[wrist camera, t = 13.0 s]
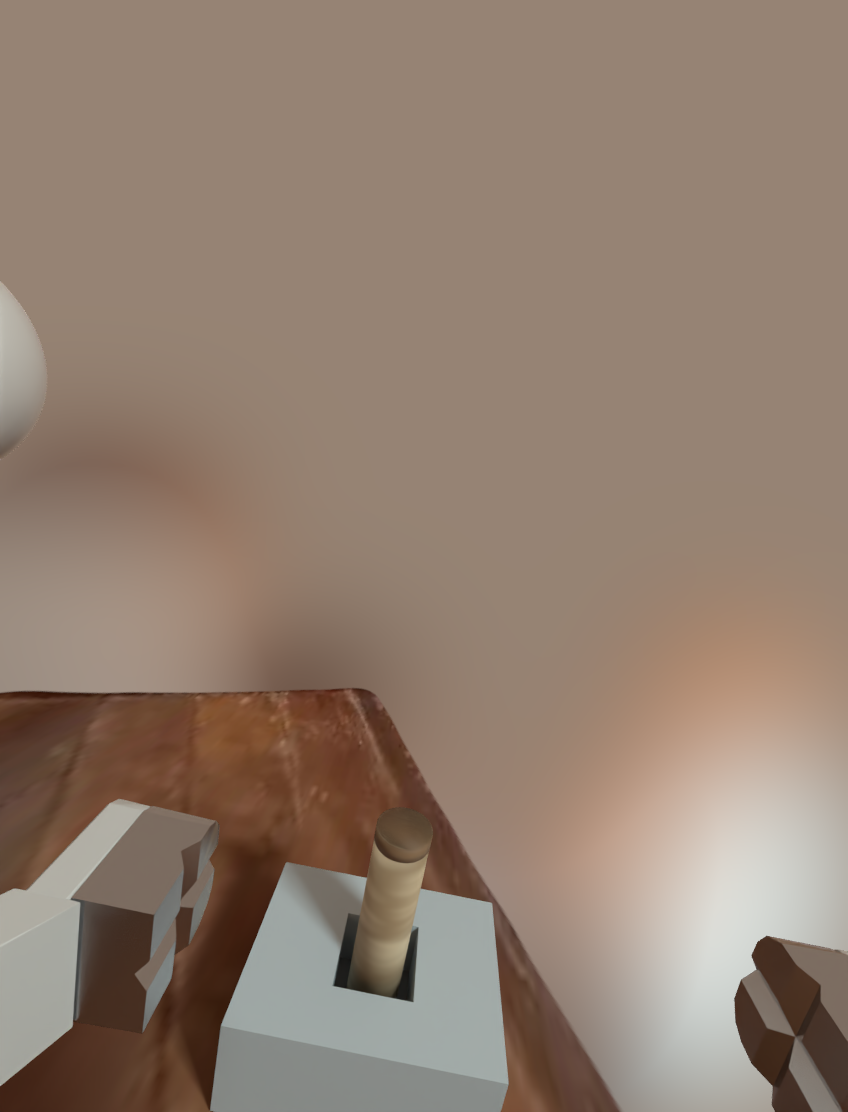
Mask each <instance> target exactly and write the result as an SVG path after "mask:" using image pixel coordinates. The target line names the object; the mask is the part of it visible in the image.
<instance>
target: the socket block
mask: <svg viewBox="0 0 848 1112" xmlns="http://www.w3.org/2000/svg"><path fill="white" fill-rule="evenodd" d="M366 880H367V878H364V877H359V876H354V875H349V874H344V873H339V872H334V871H329V870H323V869H318V868H313V867H308V866H303V865H298V864H293V863H288V862H286V864H285V867H284V869H283V872H282V874H281V877H280V879H279V882H278V884H277V887H276V889H275V892H274V894H273V897H272V899H271V902H270V904H269V907H268V909H267V912H266V914H265V917H264V919H263V922H262V924H261V927H260V929H259V932H258V934H257V937H256V939H255V942H254V944H253V947H252V949H251V952H250V954H249V957H248V959H247V962H246V964H245V967H244V969H243V972H242V974H241V977H240V979H239V982H238V984H237V987H236V989H235V992H234V994H233V997H232V999H231V1002H230V1004H229V1007H228V1009H227V1012H226V1014H225V1017H224V1019H223V1022H222V1024H221V1029H220V1036H219V1044H218V1052H217V1060H216V1068H215V1075H214V1083H213V1091H212V1099H211V1107H210V1111H214V1112H501V1109H502V1105H503V1102H504V1098H505V1095H506V1091H507V1088H508V1073H507V1062H506V1051H505V1040H504V1029H503V1018H502V1007H501V996H500V986H499V975H498V964H497V953H496V942H495V931H494V920H493V909H492V903H489V902H484V901H479V900H474V899H469V898H464V897H459V896H454V895H449V894H444V893H439V892H434V891H429V890H424V889H420V894H419V898H418V903H417V907H416V912H415V917H414V921H413V926H412V930H411V935H410V940H409V944H408V949H407V953H406V958H405V963H404V967H403V972H402V977H401V981H400V986H399V990H398V995H397V999H394V998H389V997H384V996H380V995H375V994H370V993H365V992H360V991H355V990H350V989H346V987H347V981H348V976H349V971H350V965H351V960H352V955H353V949H354V944H355V939H356V934H357V928H358V923H359V918H360V912H361V907H362V902H363V896H364V891H365V886H366Z"/></svg>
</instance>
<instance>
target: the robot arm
mask: <svg viewBox="0 0 848 1112" xmlns="http://www.w3.org/2000/svg"><path fill="white" fill-rule="evenodd" d="M46 391H47V370H46V361H45V357H44V353H43V349H42V345H41V343H40V340H39V338H38V335H37V333H36V330H35V328H34V326H33V325H32V323H31V321H30V319H29V317H28V316H27V314H26V313H25V311H24V309H23V308H22V307H21V305H20V304H19V302H18V301H17V300H16V298H15V297H14V296H13V295H12V293H11V292H10V291H9V290H8V288H7V287H6V286H5V285H4V284H3V283H2V282H1V281H0V460H1V459H3V458H4V457H6V456H7V455H9V454H10V453H11V452H12V451H13V450H15V449H16V448H17V447H18V446H19V445H20V444H21V443H22V442H23V441H24V440H25V439H26V438H27V436H28V435H29V434H30V432H31V431H32V429H33V428H34V426H35V425H36V423H37V421H38V419H39V417H40V415H41V412H42V409H43V406H44V403H45V397H46ZM218 836H219V824H218V823H217V821H214V820H209V819H205V818H201V817H197V816H193V815H188V814H184V813H180V812H176V811H171V810H167V809H163V808H159V807H155V806H152V807H150V806H146V805H142V804H138V803H134V802H130V801H126V800H122V799H118V800H116V801H114V802H112V803H110V804H108V805H107V806H106V807H105V808H104V809H103V810H102V811H101V812H100V813H99V814H98V815H97V817H96V818H95V819H94V820H93V821H92V822H91V823H90V824H89V825H88V826H87V827H86V828H85V829H84V830H83V831H82V832H81V833H80V834H79V835H78V836H77V837H76V838H75V840H74V841H73V842H72V843H71V844H70V845H69V846H68V847H67V848H66V849H65V850H64V851H63V852H62V853H61V854H60V855H59V856H58V857H57V858H56V859H55V860H54V862H53V863H52V864H51V865H50V866H49V867H48V868H47V869H46V870H45V871H44V872H43V873H42V874H41V875H40V876H39V877H38V878H37V879H36V880H35V881H34V882H33V884H32V885H31V886H30V887H29V888H28V889H27V890H21V889H15V888H14V889H12V890H10V891H8V892H6V893H3V894H1V895H0V1086H1V1085H2V1084H3V1083H5V1082H6V1081H7V1080H8V1079H10V1078H11V1077H12V1076H13V1075H14V1074H16V1073H17V1072H18V1071H19V1070H21V1069H22V1068H23V1067H24V1066H25V1065H27V1064H28V1063H29V1062H30V1061H32V1060H33V1059H34V1058H35V1057H36V1056H38V1055H39V1054H40V1053H41V1052H43V1051H44V1050H45V1049H46V1048H47V1047H49V1046H50V1045H51V1044H52V1043H54V1042H55V1041H56V1040H57V1039H58V1038H60V1037H61V1036H62V1035H63V1034H65V1033H66V1032H67V1031H68V1030H69V1029H71V1028H72V1026H73V1022H78V1023H84V1024H90V1025H95V1026H101V1027H107V1028H113V1029H118V1030H124V1031H130V1032H136V1033H141V1034H142V1033H143V1031H144V1029H145V1027H146V1026H147V1024H148V1022H149V1020H150V1018H151V1016H152V1014H153V1012H154V1010H155V1008H156V1007H157V1005H158V1003H159V1001H160V999H161V997H162V995H163V993H164V991H165V989H166V988H167V986H168V984H169V982H170V980H171V978H172V970H173V962H174V955H175V954H177V953H178V952H180V951H181V950H182V949H184V948H185V947H187V946H188V945H189V944H190V942H191V940H192V938H193V936H194V934H195V932H196V930H197V928H198V926H199V923H200V921H201V918H202V915H203V913H204V910H205V908H206V905H207V902H208V899H209V895H210V891H211V887H212V883H213V876H214V868H213V866H212V864H211V863H210V861H209V858H210V857H211V855H212V853H213V851H214V850H215V848H216V846H217V844H218ZM752 958H753V961H754V963H755V966H756V969H757V970H755V971H754V972H752V973H751V974H749V975H748V976H746V977H745V978H743V979H742V980H741V982H740V985H739V987H738V990H737V993H736V996H735V998H734V999H735V1019H736V1025H737V1028H738V1032H739V1035H740V1039H741V1042H742V1044H743V1046H744V1048H745V1050H746V1053H747V1055H748V1057H749V1059H750V1061H751V1063H752V1064H753V1066H754V1067H755V1068H757V1070H758V1071H759V1072H760V1073H761V1074H762V1075H763V1076H764V1077H765V1078H766V1079H767V1080H768V1081H769V1083H770V1084H771V1085H772V1086H773V1093H772V1106H773V1108H774V1110H775V1112H848V951H842V950H833V949H830V948H825V947H820V946H815V945H810V944H805V943H800V942H795V941H790V940H785V939H780V938H775V937H770V936H766V937H764V938H763V939H761V940H760V941H758V942H757V944H756V947H755V949H754V951H753V953H752Z"/></svg>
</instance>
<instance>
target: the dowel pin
mask: <svg viewBox="0 0 848 1112" xmlns="http://www.w3.org/2000/svg"><path fill="white" fill-rule="evenodd" d="M432 835H433V829H432V826H431V824H430V822H429V821H428V819H427V818H426V817H425V816H423V815H422V814H421V813H419V812H417V811H415V810H412V809H409V808H401V807H399V808H392V809H389V810H387V811H385V812H383V813H382V814H381V815H380V817H379V818H378V821H377V825H376V831H375V837H374V843H373V849H372V854H371V859H370V865H369V870H368V875H367V880H366V886H365V891H364V896H363V902H362V907H361V912H360V918H359V923H358V928H357V934H356V939H355V944H354V949H353V955H352V960H351V965H350V971H349V976H348V981H347V987H346V989H350V990H355V991H360V992H365V993H370V994H375V995H380V996H384V997H389V998H394V999H397V995H398V990H399V986H400V981H401V977H402V972H403V967H404V963H405V958H406V953H407V949H408V944H409V940H410V935H411V930H412V926H413V921H414V917H415V912H416V907H417V903H418V898H419V894H420V889H421V884H422V880H423V875H424V870H425V866H426V861H427V857H428V852H429V849H430V845H431V840H432Z"/></svg>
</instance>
